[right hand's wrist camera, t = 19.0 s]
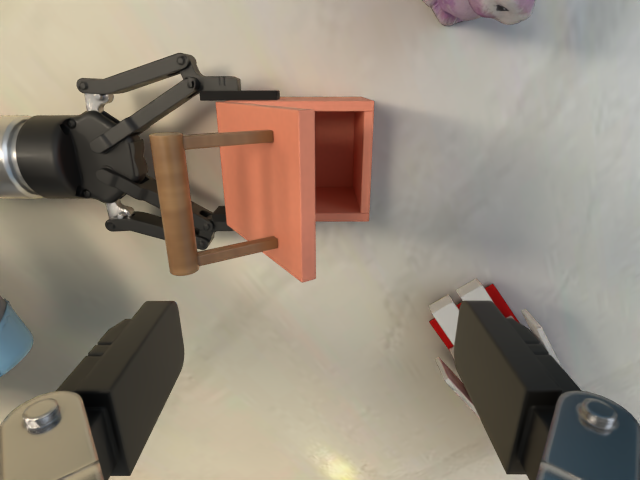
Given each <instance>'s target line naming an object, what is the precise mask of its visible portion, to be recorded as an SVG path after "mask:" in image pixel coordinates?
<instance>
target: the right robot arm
mask: <svg viewBox="0 0 640 480" xmlns="http://www.w3.org/2000/svg"><path fill="white" fill-rule="evenodd" d="M454 361H455V366H456V369H457V371H458V373H459V376H460V378H461V380H462V382H463V384H464V386H465V388H466V390H467V392H468V394H469V396H470V398H471V401H472V403H473V405H474V407H475V409H476V411H477V413H478V415H479V417H480V419H481V421H482V423H483V426H484V428H485V430H486V432H487V434H488V436H489V438H490V440H491V442H492V444H493V446H494V449H495V451H496V453H497V455H498V457H499V459H500V461H501V463H502V465H503V467H504V469H505V471H506V474H527V476H528V478H529V480H640V425H639V423H638V422H637V420H636V419H635V418H634V417H633V416H632V415H631V414H630V413H629V412H628V411H627V410H626V409H624V408H623V407H622V406H620V405H619V404H617V403H615V402H613V401H612V400H610V399H608V398H605V397H603V396H600V395H597V394H594V393H590V392H585V391H581V390H580V388H579V387H578V386H577V385H576V384H575V383H574V381H573V380H572V379H571V378H570V377H569V376H568V374H567V373H566V372H565V371H564V370H563V369H562V367H561V366H560V365H559V364H558V363H557V362H556V360H555V359H554V358H553V357H552V356H551V355H549V352H548V351H547V350H546V349H545V347H544V346H543V345H542V344H540V342H539V340H538V339H537V338H536V337H535V336H534V335H533V333H532V332H531V331H530V330H529V329H528V328H526V327H525V326H523V325H522V324H520V323H519V322H517V321H515V320H514V319H512V318H505V316H504V315H503V314H502V313H501V311H500V310H499V309H498V308H497V306H496V305H495V304H494V303H493V302H492V301H490V300H464V301H462V303H461V305H460V309H459V315H458V322H457V329H456V336H455V343H454ZM183 362H184V344H183V337H182V330H181V324H180V317H179V310H178V306H177V304H176V302H175V301H146V302H145V303H144V304H143V305H142V307H141V308H140V309H139V310H138V312H137V313H136V314H135V315H134V316H133V318H132V319H125V320H123V321H122V322H120V323H119V324H117V325H115V326H114V327H112V328H111V329H109V330H108V331H107V332H106V333H105V335H104V336H103V337H102V338H101V339H100V340H99V342H98V345H95V346H94V347H93V349H92V350H91V351H90V352H89V353H88V356H86V357H85V358H84V359H83V360H82V361H81V362H80V364H79V365H78V366H77V367H76V368H75V369H74V371H73V372H72V373H71V374H70V375H69V376H68V378H67V379H66V380H65V381H64V382H63V383H62V385H61V386H60V387H59V388H58V389H57V390H56V391H55V392H50V393H46V394H43V395H40V396H37V397H35V398H32V399H30V400H28V401H27V402H25V403H23V404H21V405H20V406H18V407H17V408H16V409H14V410H13V411H12V412H11V413H10V414H9V415H8V416H7V417H6V418H5V419H4V420H3V422H2V423H1V425H0V480H108V479H109V477H110V476H130V475H131V473H132V471H133V469H134V467H135V465H136V463H137V461H138V458H139V456H140V454H141V452H142V450H143V448H144V446H145V444H146V442H147V440H148V438H149V436H150V434H151V432H152V430H153V428H154V426H155V423H156V421H157V419H158V417H159V415H160V413H161V411H162V409H163V407H164V405H165V403H166V401H167V399H168V397H169V395H170V393H171V390H172V388H173V386H174V384H175V382H176V380H177V378H178V376H179V374H180V372H181V369H182V366H183Z"/></svg>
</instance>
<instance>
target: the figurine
mask: <svg viewBox="0 0 640 480" xmlns="http://www.w3.org/2000/svg"><path fill="white" fill-rule="evenodd" d="M423 1H424V2H425V3H426V4H427V5H428V6H430V7H432V10H433V11H434V13H435V15H436V17H437V19H438V20H439V22H440V23H441V24H443V25H445V26H446V25H448V26H450V25H453V24H454V23H457V22H460V21H461V22H462V21H464V20H473V19H477V18H480V17H488V18H493V19H496V20H498V21H500V22H501V23H503V24H507V25H512V24H517V23H519V22H521V21H523V20H526V19H527V18H529V17H530V15H531V14H532V12H533V9H534V5H535V0H423Z"/></svg>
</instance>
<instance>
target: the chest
mask: <svg viewBox="0 0 640 480" xmlns="http://www.w3.org/2000/svg"><path fill="white" fill-rule="evenodd" d="M224 102H227V101H224ZM228 102H238V103H249V104H260V105H271V106H281V107H292V108H303V109H313V110H314V111H315V221H369V209H370V187H371V164H372V142H373V119H374V112H373V111H374V101H372V100H369V99H366V98H363V97H280V99H278V100H229V101H228Z"/></svg>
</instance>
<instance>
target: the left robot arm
mask: <svg viewBox="0 0 640 480" xmlns="http://www.w3.org/2000/svg"><path fill="white" fill-rule="evenodd" d="M180 73H181V75H182V77H183V80H182V81H181V82H180V83H178V84H177V85H175V86H174V87H172V88H171V89H169V90H168V91H166V92H165V93H164V94H162V95H161V96H159V97H158V98H156V99H155V100H153V101H152V102H150V103H149V104H148V105H146V106H145V107H143V108H142V109H140V110H139V111H137V112H136V113H135V114H133V115H132V116H130V117H128V118H126V119H124V120H122V121H121V122H120V121H119V120H117V119H116V118H114V117H113V116H111V115H110V114H108V113H107V112H105V111H103V108H104V105H105V104H107V103H111V102H112V101H113V99H114V95H113V94H118V93H124V92H128V91H131V90H134V89H137V88H140V87H143V86H145V85H148V84H151V83H154V82H157V81H160V80H163V79H166V78H169V77H172V76H175V75H178V74H180ZM77 88H78V90H79V91H80V92H82V93H85V100H86V107H87V111H86V112H84V113H83V114H81V115H71V116H33V117H30V116H0V198H25V199H39V198H43V197H44V198H93V199H97V200H99V201H101V202H103V203H106V207H107V211H108V215H109V220H107V221H106V223H105V226H106V228H107V229H108V230H109V231H134V232H137V233H141V234H145V235H149V236H152V237H156V238H160V239H163V240H165V236H164V229H163V222H162V217H160V216H156V215H152V214H149V213H145V212H138V211H134V209H133V208H132V207H129V206H125V205H123V204H122V203H121V201H120V199H121V198H122V197H124V196H125V195H126V194H128V195H130V196H132V197H134V198H135V199H138V200H144V201H146V202H148V203H150V204H152V205H154V206H156V207H158V208H160V203H159V196H158V190H157V183H156V180H155V179H153V178H151V177H149V176H148V175H146V173H147V172H148V168H147V163H146V161H145V159H144V156H143V154H144V143H143V139H140V137H139V134H140V133H142V132H143V131H145V130H146V129H148V128H149V127H150V126H151V125H152V124H154V123H155V122H157V121H158V120H160V119H161V118H163V117H164V116H166V115H167V114H169V113H170V112H172V111H173V110H175V109H176V108H178V107H179V106H181V105H182V104H184V103H185V102H187V101H188V100H189V99H191V98H192V97H194V96H195V95H197V94H198V93H200V101H217V100H278V99H280V93H279V91H241V84H240V79H239V78H236V77H232V76H203V75H202V74H201V73H200V71H199V70H198V67H197V65H196V60H195V58H194V57H193V56H191V55H188V54H183V53H177V54H174V55H171V56H168V57H166V58H163V59H160V60H157V61H154V62H151V63H148V64H145V65H143V66H140V67H137V68H134V69H131V70H128V71H125V72H122V73H120V74H117V75H114V76H111V77H108V78H105V79H93V78H81V79H79V80H78V81H77ZM191 205H192V213H193V221H194V229H195V238H196V246H197V249H200V250H204V249H206V248H207V247H208V246H209V244H210V243H211V241H212V240H213V238H214V233H215V232H216V231H234V230H233V229H232V228H230V227H229V226H228V225H227V220H226V209H225V206H218V208H217V209H216V210H215V211H214V213H213V212H211V211H209V210H207V209H205V208H203V207H202V206H200V205H198V204H196V203H194V202H192V201H191ZM32 345H33V336H32V334H31V332H30V331H29V329H28V328H27V327H26V326H25V324H24V323H23V322H22V320H21V319H20V318H19V316H18V315H17V314H16V312H15V311H14V310H13V308H12V307H11V305H10V303H9V301H7V300H6V299H3V298H2V297H1V296H0V377H1V376H2V375H4V374H6V373H7V372H8V371H10V370H11V369H12V368H13V367H14V366H16V365H17V364H18V363H19V362H20V361H21V360H22V359H23V358H24V357H25V356H26V355H27V354H28V352H29V351H30V350H31V348H32Z"/></svg>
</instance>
